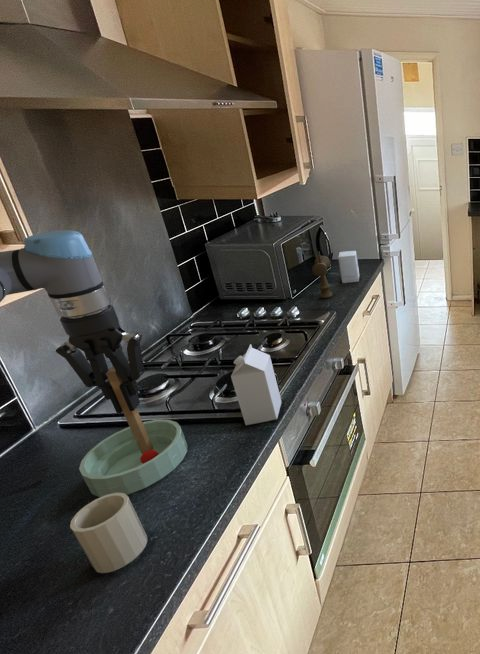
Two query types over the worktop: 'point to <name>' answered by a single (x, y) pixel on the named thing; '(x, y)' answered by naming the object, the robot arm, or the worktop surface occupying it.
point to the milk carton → (256, 387)
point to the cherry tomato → (148, 456)
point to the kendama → (322, 274)
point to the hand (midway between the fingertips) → (128, 407)
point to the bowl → (133, 459)
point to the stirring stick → (130, 414)
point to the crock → (109, 532)
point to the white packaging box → (348, 266)
